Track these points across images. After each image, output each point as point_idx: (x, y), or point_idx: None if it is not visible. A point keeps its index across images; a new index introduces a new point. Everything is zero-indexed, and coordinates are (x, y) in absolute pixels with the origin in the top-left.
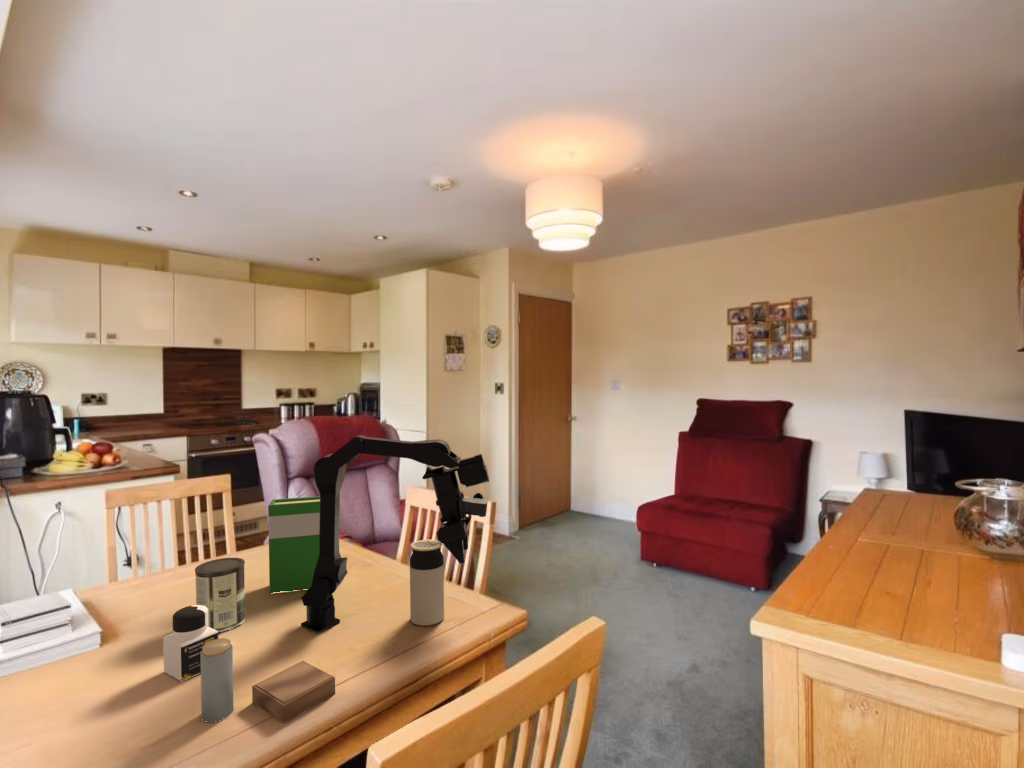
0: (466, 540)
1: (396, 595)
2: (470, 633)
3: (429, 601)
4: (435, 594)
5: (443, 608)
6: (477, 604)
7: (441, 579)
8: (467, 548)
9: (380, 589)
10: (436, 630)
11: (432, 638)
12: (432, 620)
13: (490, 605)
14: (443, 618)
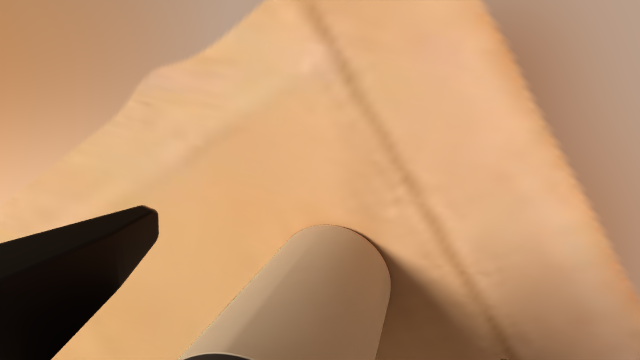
0: (88, 253)
1: (144, 315)
2: (508, 168)
3: (377, 341)
4: (369, 332)
5: (349, 248)
6: (268, 78)
7: (329, 335)
8: (154, 213)
9: (98, 343)
10: (429, 273)
11: (485, 301)
12: (389, 287)
13: (291, 26)
14: (358, 234)
